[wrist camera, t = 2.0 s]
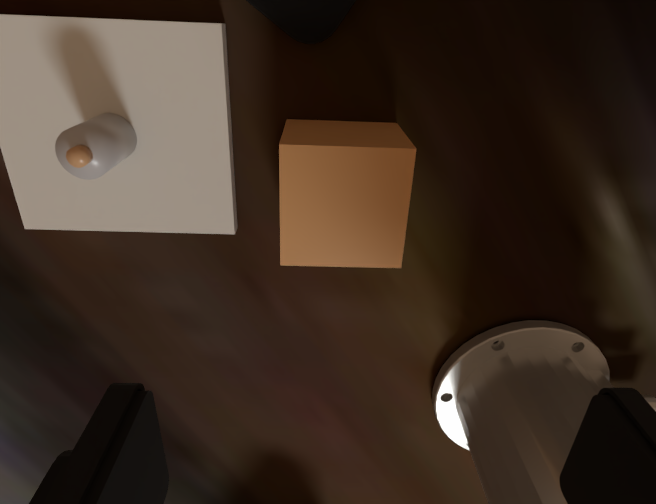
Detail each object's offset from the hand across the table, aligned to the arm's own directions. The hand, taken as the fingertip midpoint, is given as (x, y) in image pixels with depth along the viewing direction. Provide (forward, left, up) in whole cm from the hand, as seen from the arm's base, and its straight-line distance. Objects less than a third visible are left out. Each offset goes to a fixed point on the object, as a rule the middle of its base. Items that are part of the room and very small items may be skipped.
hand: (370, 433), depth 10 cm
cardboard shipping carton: (0, 0, -18) cm, 18 cm away
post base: (+12, -2, -18) cm, 22 cm away
